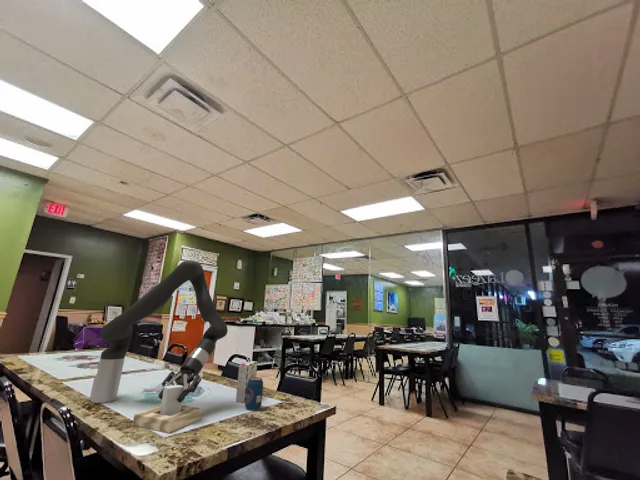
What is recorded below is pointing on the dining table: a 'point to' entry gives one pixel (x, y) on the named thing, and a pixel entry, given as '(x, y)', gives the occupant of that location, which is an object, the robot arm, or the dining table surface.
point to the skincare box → (171, 400)
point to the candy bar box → (245, 379)
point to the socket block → (166, 419)
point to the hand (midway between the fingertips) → (169, 399)
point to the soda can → (254, 393)
